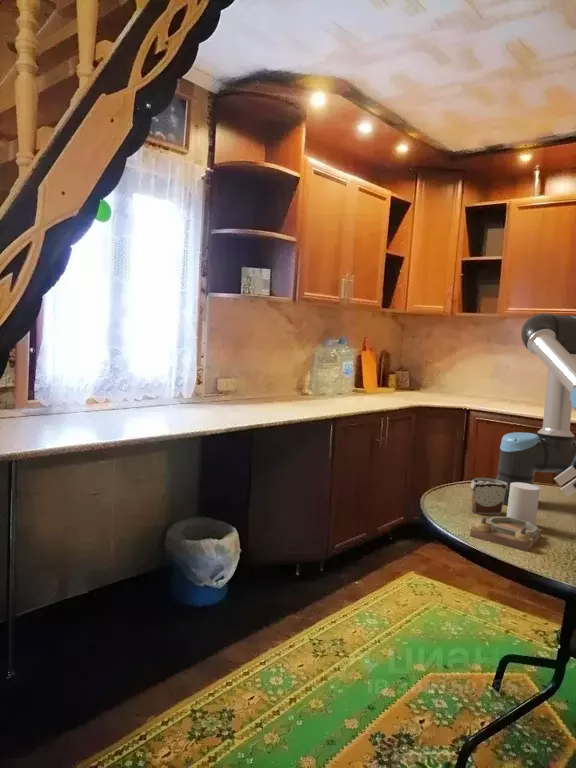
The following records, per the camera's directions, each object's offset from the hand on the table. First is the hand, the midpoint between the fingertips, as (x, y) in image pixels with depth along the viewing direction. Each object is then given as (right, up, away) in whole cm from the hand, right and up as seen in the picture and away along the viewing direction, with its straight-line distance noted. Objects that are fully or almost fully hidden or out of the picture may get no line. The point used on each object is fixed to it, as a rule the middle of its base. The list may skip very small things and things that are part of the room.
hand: (560, 487), depth 169 cm
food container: (-17, -11, +17) cm, 26 cm away
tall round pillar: (-10, -12, +5) cm, 16 cm away
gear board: (-18, -12, -6) cm, 23 cm away
